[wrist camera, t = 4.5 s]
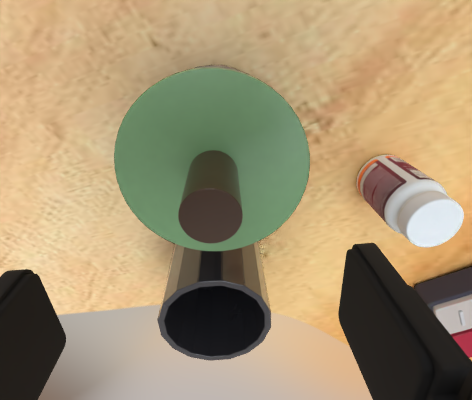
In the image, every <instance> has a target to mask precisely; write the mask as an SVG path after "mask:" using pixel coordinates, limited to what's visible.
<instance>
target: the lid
mask: <svg viewBox="0 0 472 400" xmlns="http://www.w3.org/2000/svg"><path fill="white" fill-rule="evenodd" d="M114 163H115V172H116V177H117V181H118V184H119V187H120V190H121V192H122V195H123V197H124V199H125V201H126V202H127V204H128V206H129V207H130V209H131V210H132V212H133V213H134V214H135V215H136V216H137V217H138V219H139V220H140V221H141V222H142V223H143V224H145V225H146V226H147V227H148V228H149V229H150V230H152V231H153V232H154V233H156V234H157V235H159V236H161V237H162V238H164V239H166V240H168V241H170V242H172V243H175V244H177V245H180V246H183V247H186V248H190V249H195V250H202V251H225V250H233V249H237V248H241V247H245V246H248V245H250V244H253V243H255V242H257V241H259V240H262V239H263V238H265V237H267V236H268V235H270V234H271V233H273V232H274V231H275V230H277V229H278V228H279V227H280V226H281V225H282V224H283V223H284V222H285V221H286V220H287V219H288V218H289V217H290V216H291V214H292V213H293V212H294V210H295V209H296V207H297V205H298V204H299V202H300V200H301V198H302V196H303V193H304V191H305V188H306V185H307V181H308V176H309V168H310V153H309V147H308V141H307V138H306V135H305V131H304V129H303V127H302V124H301V122H300V120H299V118H298V117H297V115H296V114H295V112H294V111H293V109H292V107H291V106H290V105H289V104H288V103H287V102H286V101H285V99H284V98H283V97H282V96H281V95H280V94H278V93H277V92H276V91H275V90H274V89H273V88H271V87H270V86H268V85H267V84H265V83H264V82H262V81H261V80H259V79H257V78H255V77H253V76H250V75H248V74H246V73H242V72H239V71H236V70H232V69H225V68H219V67H203V68H195V69H189V70H185V71H182V72H178V73H175V74H173V75H171V76H169V77H167V78H164V79H162V80H161V81H159V82H158V83H156V84H155V85H153V86H152V87H150V88H149V89H148V90H146V91H145V92H144V93H143V94H142V95H141V96H140V97H139V98H138V99H137V100H136V101H135V103H134V104H133V105H132V106H131V107H130V109H129V111H128V112H127V114H126V115H125V117H124V119H123V121H122V124H121V126H120V128H119V131H118V135H117V139H116V143H115V152H114Z"/></svg>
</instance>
